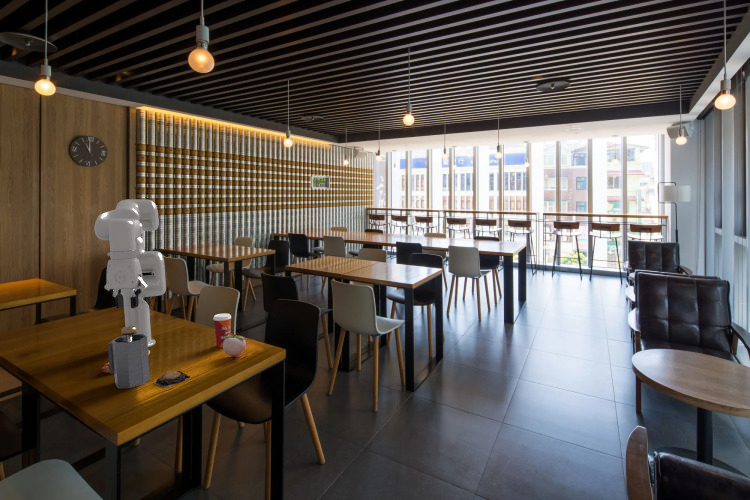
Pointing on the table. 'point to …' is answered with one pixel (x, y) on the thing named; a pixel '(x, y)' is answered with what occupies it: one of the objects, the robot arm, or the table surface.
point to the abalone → (171, 379)
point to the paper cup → (222, 327)
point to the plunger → (129, 332)
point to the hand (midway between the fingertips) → (127, 306)
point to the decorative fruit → (234, 345)
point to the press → (129, 361)
